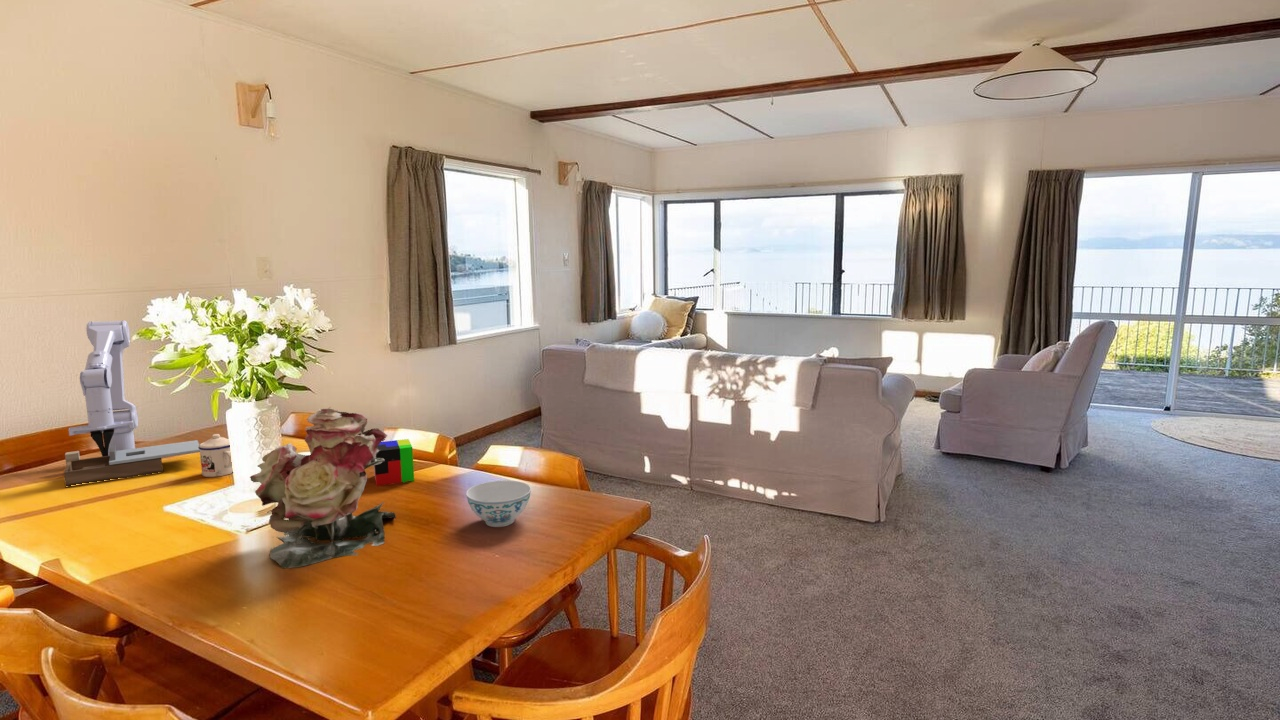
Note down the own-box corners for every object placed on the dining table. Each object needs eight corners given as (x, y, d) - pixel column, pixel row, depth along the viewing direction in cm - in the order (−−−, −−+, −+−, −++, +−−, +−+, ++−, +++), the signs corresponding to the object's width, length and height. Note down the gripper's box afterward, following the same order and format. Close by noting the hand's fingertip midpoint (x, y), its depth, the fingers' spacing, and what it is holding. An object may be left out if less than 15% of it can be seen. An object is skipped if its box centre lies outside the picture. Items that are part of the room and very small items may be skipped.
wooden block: (68, 472, 198) (65, 452, 197) (81, 470, 200) (78, 450, 199) (67, 474, 195) (64, 454, 195) (80, 472, 197) (78, 453, 196)
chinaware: (517, 536, 149) (516, 503, 148) (456, 531, 152) (454, 499, 151) (540, 512, 163) (539, 482, 162) (484, 508, 166) (483, 478, 165)
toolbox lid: (110, 454, 200) (109, 443, 199) (197, 442, 213) (196, 432, 213) (109, 465, 189) (108, 453, 188) (201, 451, 202) (200, 441, 201)
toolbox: (69, 475, 195) (67, 461, 194) (161, 461, 208) (160, 448, 207) (65, 487, 184) (63, 472, 183) (162, 472, 197) (161, 458, 196)
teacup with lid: (194, 474, 195) (190, 436, 193) (226, 466, 202) (223, 429, 201) (217, 481, 189) (213, 441, 187) (249, 472, 196) (245, 434, 195)
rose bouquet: (262, 531, 152) (250, 404, 148) (396, 513, 163) (389, 394, 159) (242, 579, 129) (228, 429, 125) (401, 554, 140) (393, 416, 135)
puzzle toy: (374, 476, 193) (372, 442, 191) (410, 471, 197) (408, 438, 195) (376, 486, 184) (374, 451, 182) (414, 481, 188) (412, 447, 186)
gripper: (65, 415, 183) (71, 463, 185) (131, 408, 192) (136, 454, 194) (67, 411, 189) (73, 457, 191) (131, 404, 198) (136, 449, 200)
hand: (105, 455), depth 193 cm, fingers closed
